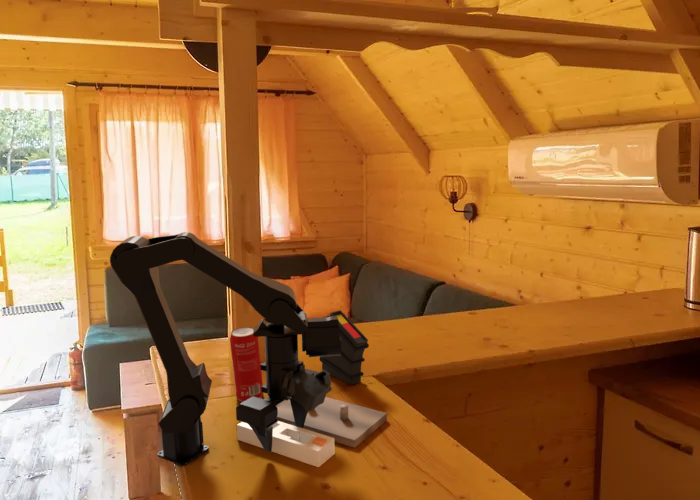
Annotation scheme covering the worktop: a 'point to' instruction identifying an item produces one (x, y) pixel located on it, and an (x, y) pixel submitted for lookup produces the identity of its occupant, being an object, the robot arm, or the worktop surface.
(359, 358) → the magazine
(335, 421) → the peg board
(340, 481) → the worktop surface
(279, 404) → the robot arm
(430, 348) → the worktop surface
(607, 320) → the worktop surface
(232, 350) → the beverage can
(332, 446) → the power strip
